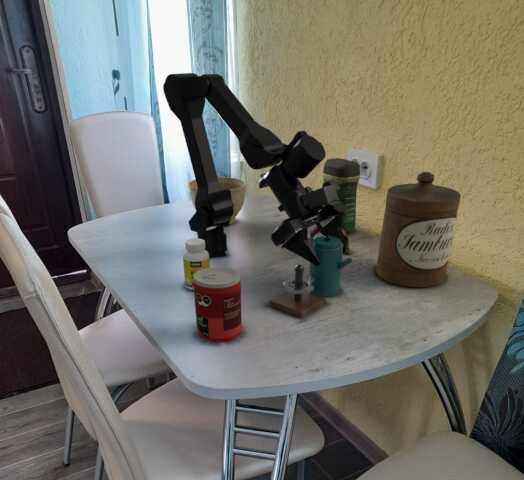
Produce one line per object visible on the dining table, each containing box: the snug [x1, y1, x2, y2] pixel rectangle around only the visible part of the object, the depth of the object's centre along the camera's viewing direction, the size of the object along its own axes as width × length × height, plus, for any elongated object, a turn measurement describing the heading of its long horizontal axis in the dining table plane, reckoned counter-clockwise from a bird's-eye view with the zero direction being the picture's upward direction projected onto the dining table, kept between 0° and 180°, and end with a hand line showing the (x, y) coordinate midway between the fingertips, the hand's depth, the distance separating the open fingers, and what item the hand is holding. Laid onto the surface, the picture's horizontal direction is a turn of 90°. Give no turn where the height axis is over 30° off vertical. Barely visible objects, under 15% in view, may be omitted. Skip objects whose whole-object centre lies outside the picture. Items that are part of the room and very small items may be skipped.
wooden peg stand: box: [268, 264, 327, 319], centre depth 97 cm, size 8×8×8 cm
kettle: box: [282, 235, 354, 298], centre depth 99 cm, size 9×15×12 cm, turn 139°
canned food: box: [193, 266, 243, 343], centre depth 87 cm, size 8×8×11 cm
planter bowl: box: [187, 176, 248, 225], centre depth 143 cm, size 16×16×11 cm
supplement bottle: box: [182, 237, 211, 291], centre depth 105 cm, size 5×5×10 cm
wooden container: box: [375, 171, 462, 288], centre depth 107 cm, size 15×15×22 cm
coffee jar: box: [321, 157, 361, 235], centre depth 134 cm, size 10×8×19 cm
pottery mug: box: [308, 225, 351, 255], centre depth 124 cm, size 12×10×8 cm
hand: (332, 258), depth 101 cm, fingers open, 9 cm apart
